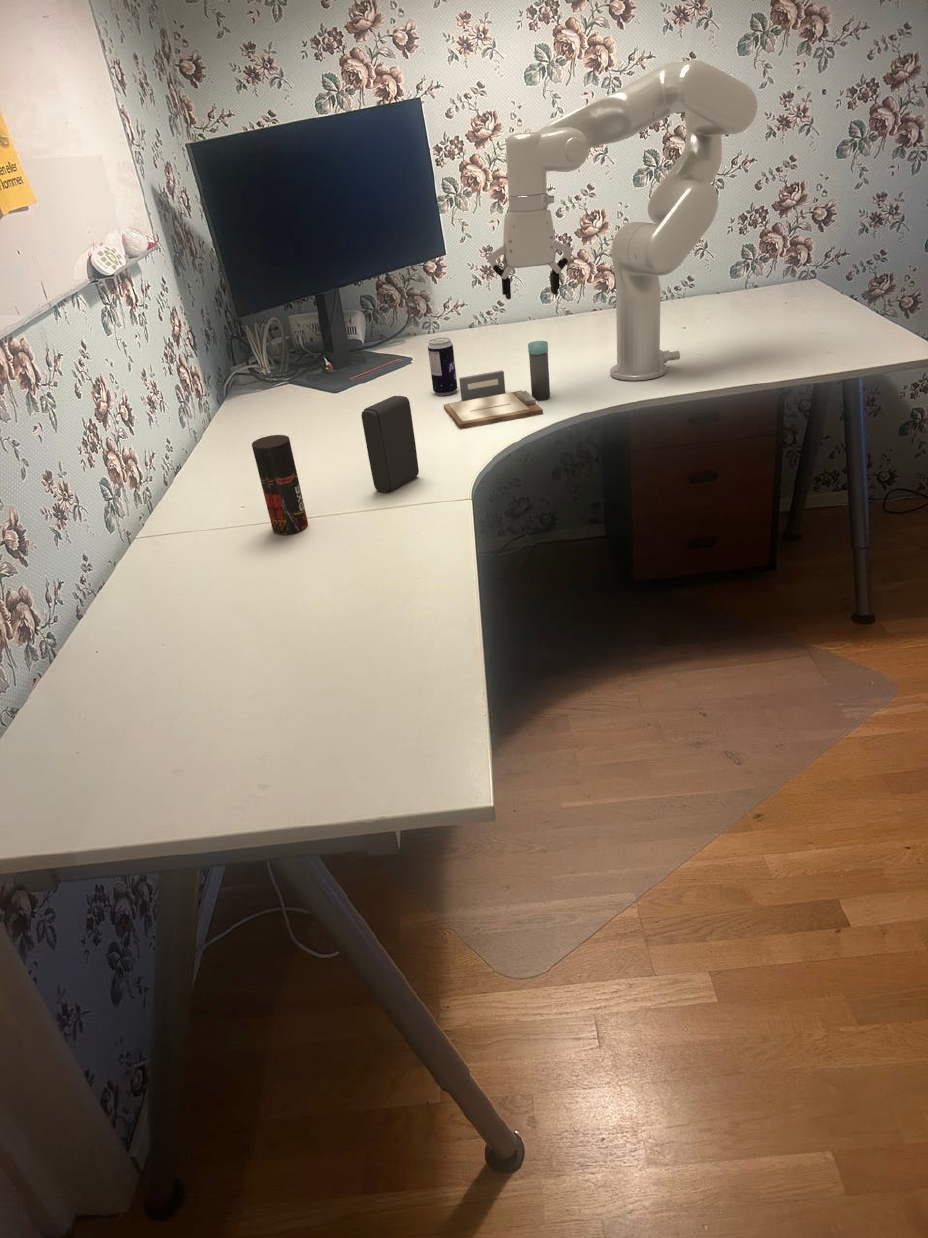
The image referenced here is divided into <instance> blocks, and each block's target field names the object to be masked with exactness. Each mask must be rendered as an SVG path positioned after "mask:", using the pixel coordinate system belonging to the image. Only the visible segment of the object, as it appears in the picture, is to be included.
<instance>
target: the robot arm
mask: <svg viewBox="0 0 928 1238" xmlns="http://www.w3.org/2000/svg"><path fill="white" fill-rule="evenodd" d="M757 112H758V99H757V96H756V93H755V92H754V91H753V89H752V88H751V87H750V86H749V85H748V84H747V83H745V82H743V81H742V80H739V79H738V78H736V77H733V76H732V75H729V74H728V73H727V72H724V71H722V70H720V69H719V68H717V67H715V66H714V65H711V64H710V63H707V62H704V61H702V60H699V59H698V60H697V59H690V60H684V61H683V60H682V61H675V62H669V63H666V64H664V65H662V66H661V65H660V66H659V67H658V68H656V69H654V70H652V71H650V72H648V73H647V74H645V75H643V76H641V77H640V78H638V79H636V80H634V81H632V82H630V83H629V84H627V85H625V86H624V87H622V88H620V89H618V90H616V91H614V92H612V93H610V94H608V95H606V96H603V97H601V98H599V99H596V100H595V101H592V102H591V103H589V104H586V105H584V106H582V107H580V108H577V109H576V110H573V111H571V112H569V113H567V114H565V115H562V116H561V117H560V118H558V119H556V120H554V121H552V122H551V123H549V124H546V125H545V126H543V127H542V128H540V129H539V130H538V131H529V132H527V131H526V132H518V133H513V134H511V135H509V136H508V137H507V139H506V142H505V149H506V150H505V151H506V170H507V171H506V174H507V190H508V191H507V193H508V212H507V213H505V215H504V220H503V222H504V223H503V235H502V236H503V242H502V243H503V245H502V246H500V247H499V248H498V249H496V250H495V251H493V252H491V253H490V254H489V255H487V256H486V259H487V261H488V263H489V265H490V267H491V268H492V270H493V271H494V272H495V273H496V274H497V275H498V276H499V277H500V278H501V287H502V288H501V290H502V295H503V296H505V299H507V300H511V299H512V292H511V291H512V290H511V287H512V286H511V279H510V278H509V276H510V274H511V272H512V271H513V269H520V268H530V267H539V266H540V267H541V266H549V267H550V269H551V272H550V275H549V276H550V293H551V294H553V295H558V290H560V284H561V283H560V274H561V273H562V270H563V269H564V268H565V267H566V265H567V264H568V263H569V259H570V258H571V255H572V253H573V248H571V247H570V246H568V245H566V244H563V243H562V242H559V241H556V239H555V232H554V231H555V230H554V229H555V228H554V223H553V222H554V221H553V216H552V212H551V210H550V209H548V208H549V206H550V205H551V204H554V203H555V196H554V195H550V194H548V193H547V192H548V191H547V187H548V185H547V173H548V172H557V173H559V172H560V173H570V172H574V171H576V170H577V169H579V168H581V166H583V165H584V163H585V162H586V160H587V158H588V157H589V152H590V151H589V150H590V149H592V148H595V147H598V146H603V145H609V144H613V143H617V142H622V141H624V140H627V139H629V138H632V137H633V136H635V135H637V134H639V133H641V132H642V131H644V130H646V129H647V128H649V127H651V126H652V125H655V124H656V123H658V122H660V121H662V120H664V119H665V118H667V117H668V116H670V115H673V114H676V113H685V114H684V123H685V135H686V136H685V138H686V139H685V144H684V148H683V151H682V153H681V155H680V156H679V158H678V159H677V160H676V162H675V163H674V165H673V166H672V167H671V169H670V170H669V171H668V173H667V174H666V176H665V177H664V178H663V179H662V181H660V183H659V185H658V186H657V187H656V189H655V190H654V192H653V193H652V195H651V196H650V198H649V201H648V206H647V214H648V216H649V219H650V220H651V221H652V222H653V223H652V222H645V221H633V222H629V223H626V224H624V225H623V226H621V227H620V228H619V229H618V231H617V232H616V233H615V235H614V236H613V240H612V242H611V243H612V244H611V259H612V266H613V271H614V276H615V277H614V278H615V291H616V296H615V298H616V302H615V303H616V304H615V305H616V308H615V309H616V364H615V365H613V366H612V367H611V368H610V369H609V373H610V377H612V378H615V379H616V380H622V381H629V382H631V381H646V380H650V379H656V378H658V377H662V376H663V375H665V374H666V373H667V365H666V364H667V363H668V362H669V361H677V360H680V359H681V353H680V351H679V350H674V351H670V350H664V351H663V350H661V299H662V296H661V295H662V294H661V293H662V292H661V282H660V278H659V276H660V277H661V276H662V277H663V276H666V275H669V274H671V273H672V272H674V271H676V269H677V268H678V267H680V266H681V264H682V263H683V262H684V261H685V259H686V258H687V257H688V255H690V253H691V252H692V250H693V249H694V248H695V246H696V245H697V244H698V242H699V241H700V240H701V239H702V237H703V236H704V235H705V233H706V232H707V231H708V229H709V228H710V227H711V225H712V223H713V221H714V219H715V218H716V214H717V212H718V206H719V195H718V193H717V190H716V188H715V187H714V186H713V184H712V182H713V181H714V180H715V178H716V176H717V174H718V173H719V171H720V168H721V165H722V158H723V157H722V156H723V150H722V149H723V144H722V135H723V136H724V135H727V136H728V135H730V136H731V135H737V134H740V133H742V132H744V131H745V130H747V129H748V128H749V127H750V126H751V125H752V124H753V122H754V120H755V118H756V115H757ZM556 249H557V251H561V252H562V257H561V258H560V259H559V260H558V262H556V252H557V251H556ZM502 256H503V262H504V266H503V267H502V268H501V267H500V266H499V264H498V263H497V259H498V258H500V257H502Z"/></svg>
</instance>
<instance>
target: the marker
mask: <svg viewBox="0 0 928 1238" xmlns="http://www.w3.org/2000/svg"><path fill="white" fill-rule="evenodd" d="M527 350H528V356H529V358H528V359H529V371H530V372H529V373H530V375H529V376H530V390H531V396H532V397H533V398H535V399H536V402H542V401H548V400H550V399H551V392H550V391H551V387H550V370H549V369H550V368H549V343H548V341H546V340H535V341H534V340H533V341H531V342H529V343H527Z"/></svg>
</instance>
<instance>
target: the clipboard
mask: <svg viewBox="0 0 928 1238" xmlns="http://www.w3.org/2000/svg"><path fill="white" fill-rule="evenodd" d="M442 406H443V410H444V411H445V412H446V413H447V415H448V414H449V415H448V416H449V417H450V419H451V418H452V419H451V420H452V421H453V423H454V424H455V425H456V426H457V428H458V429H459V430H464V429H468V428H474V427H479V426H480V427H481V426H485V425H491V424H496V423H501V422H507V421H511V420H518V419H524V418H528V417H534V416H535V417H536V416H539V415H543V414H544V409H543V408H542V407H541V406H540V405H539V404H538V403H537V401H536V399H535V398H533V397H532V394H530V393H529V392H528V391H527V390H524V391H523V390H517V391H511V392H505V394H499V395H493V396H488V397H482V398H477V399H471V400H466V401H462V400H459V401H455V402H450V403H444V404H443V405H442Z"/></svg>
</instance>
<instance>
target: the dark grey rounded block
mask: <svg viewBox="0 0 928 1238" xmlns="http://www.w3.org/2000/svg"><path fill="white" fill-rule="evenodd" d="M361 421H362V426H363V427H362V428H363V433H364V439H365V444H366V449H367V456H368V462H369V467H370V472H371V477H372V483H373V486H374V488H375V490H376V491H377V492H382V493H389V492H390V493H391V492H393V491H394V490H396V489H398V488H399V487H400V488H401V486H404V485H405V484H407V483H409V482H411V481H412V480H414V479H416V478H417V476H418V475H419V473H420V471H419V469H420V468H419V462H418V453H417V447H416V446H417V445H416V438H415V431H414V422H413V415H412V409H411V403H410V399H409V398H408V396H405V395H404V396H403V395H393V396H390V397H388V398H386V399H384V400H382V401H379V402H377V403H374V404H373V405H370V406H368V407H365V408H364V409H363V411H362V412H361Z"/></svg>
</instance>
